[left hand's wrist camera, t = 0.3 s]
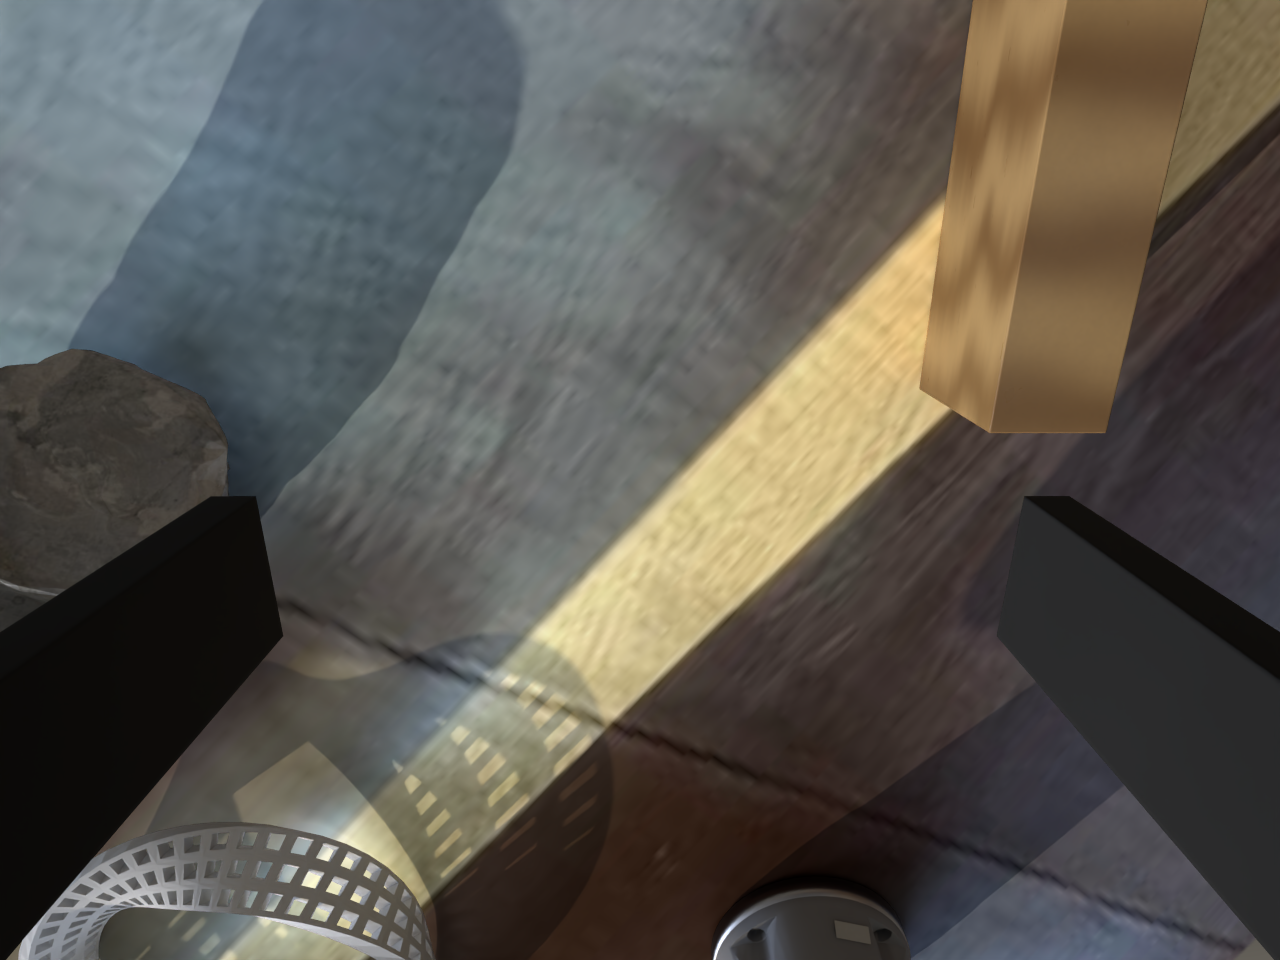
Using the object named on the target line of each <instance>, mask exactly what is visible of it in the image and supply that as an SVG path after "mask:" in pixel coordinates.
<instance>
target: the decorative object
mask: <svg viewBox="0 0 1280 960" xmlns="http://www.w3.org/2000/svg"><path fill="white" fill-rule="evenodd" d="M228 832H230V833H229V837H228V841H227V844H217V842H218V833H228ZM245 832H258V835H257V837H256V840H255V843H254V845H253V846H245V845H242V842H243V838H244V834H245ZM271 833H276V834H285V835H286V837H285V839H284V842H283V844H282V846H281V848H280V850H279V851H278V850H273V849H268V848H266V847H267V844H268V841H269V839H270V836H271ZM199 835H201V840H200V845H193V837H194V836H199ZM297 837H300V838H303V839H306V840H309V841H311V843H310V845H309V848H308V850H307V852H306V854H305V855H299V854H294V853H290V852H291V850H292V848H293V845H294V843H295V841H296V839H297ZM170 841H173V845H174V848H170V847H169V844H168V842H170ZM322 846H325V847H328V848H330V849H332V850H334V851H333V853H332V855H331V857H330V859H329V861H328V862H327V861H324V860H321V859H317V858H316V857H317V855H318V853H319V851H320V849H321V847H322ZM146 848H147V851H148V853H147V852H146V850H145V849H146ZM345 856H346V857H348V858H350V859H351V860H353V861H354V862H353V865H352V867H351V869H347V868H345V867H342V866H340V865H341V864H342V862H343V860H344V858H345ZM221 860H222V862H221V866H220V869H219V872H214V871H215V862H216V861H221ZM238 860H247V863H246V865H245V867H244V870H243V872H242V875H240V874H235V871H236V867H237V862H238ZM261 861H263V862H273V864H272V866H271V868H270V870H269V872H268V874H267V876H266V878H265V879H263V878H258V877H256V875H257V873H258V870H259V867H260V864H261ZM196 862H198V865H197V871H195V863H196ZM285 865H288V866H292V867H295V868H298V870H297V872H296V873H295V875H294V877H293V879H292V880H291V882H290V883H284V882H278V880H279V878H280V875H281V873H282V871H283V868H284V866H285ZM366 870H368V871H369V872H370V873H371V874H372V875H371V877H370V879H369V878H367V877H365V876H363V875H364V873H365V871H366ZM307 872H311V873H313V874H316V875H319V876H321V878H320V880H319V882H318V884H317V886H316V888H315V889H314V888H310V887H305V886H301V885H302V883H303V881H304V878H305V876H306V874H307ZM331 881H333V882H335V883H337V884H339V885H341V886H342V888H341V890H340V892H339V894H338V895H335V894H332V893H329V892H325V891H326V890H327V888H328V886H329V884H330V883H331ZM384 886H385V887H386V888H387V889H385V888H384ZM213 889H214V890H213ZM231 890H235V892H234V894H233V897H232V899H231V901H230V903H228V899H229V895H230V891H231ZM212 891H213V893H212ZM251 891H259V892H258V894H257V896H256V898H255V900H254V902H253V904H252V906H251V908H248V907H246V904H247V901H248V898H249V895H250V892H251ZM353 893H356V894H357V895H359V896H361V897H362V899H361V901H360V903H357V902H354V901H352V900H350V899H351V897H352V895H353ZM272 894H276V895H280V896H282V898H281V900H280V902H279V904H278V906H277V907H276V909H275V911H274V912H270V911H265V910H266V908H267V906H268V903H269V901H270V899H271V896H272ZM294 900H297V901H300V902H303V903H306V906H305V907H304V909H303V911H302V913H301V914H300V916H295V915H289V914H288V912H289V910H290V908H291V906H292V904H293V902H294ZM132 907H150V908H162V909H174V910H189V911H205V912H219V913H232V914H242V915H252V916H257V917H261V918H265V919H269V920H273V921H277V922H280V923H284V924H287V925H291V926H294V927H298V928H301V929H304V930H307V931H310V932H313V933H316V934H319V935H322V936H325V937H328V938H330V939H333V940H335V941H338V942H340V943H343V944H345V945H348V946H350V947H352V948H354V949H356V950H359V951H361V952H363V953H365V954H367V955H369V956H371V957H373V958H375V959H376V960H435V956H434V953H433V949H432V945H431V940H430V936H429V931H428V927H427V924H426V920H425V916H424V913H423V911H422V909H421V907H420V905H419V903H418V901H417V899H416V897H415V896H414V895H413V893H412V892H411V891H410V890H409V888H408V887H407V886H406V884H405V883H404V882H403V881H402V880H401V879H400V878H399V877H398V876H397V875H395V874H394V873H393V872H392V871H391V870H390V869H389V868H388V867H386V866H385V865H383V864H382V863H380V862H379V861H377V860H376V859H374V858H373V857H371V856H370V855H368V854H366V853H364V852H362V851H360V850H358V849H356V848H354V847H351V846H349V845H347V844H345V843H342V842H339V841H336V840H333V839H330V838H327V837H324V836H321V835H316V834H311V833H307V832H302V831H298V830H293V829H288V828H283V827H278V826H273V825H267V824H256V823H246V822H212V823H203V824H193V825H185V826H180V827H175V828H170V829H165V830H161V831H157V832H154V833H150V834H147V835H144V836H141V837H138V838H134V839H132V840H129V841H127V842H125V843H122V844H120V845H118V846H116V847H113V848H111V849H109V850H107V851H105V852H103V853H101V854H100V855H98V856H96V857H95V858H93V859H92V860H91V861H90V862H89V863H88V864H87V866H86V867H85V868H84V869H83V870H82V871H81V873H80V874H79V875H78V876H77V877H76V878H75V880H74V881H73V882H72V883H71V884H70V885H69V887H68V888H67V889H66V890H65V891H64V892H63V894H62V895H61V896H60V897H59V898H58V899H57V901H56V902H55V903H54V904H53V905H52V906H51V908H50V909H49V910H48V911H47V912H46V913H45V915H44V916H43V917H42V918H41V919H40V920H39V922H38V923H37V924H36V925H35V926H34V927H33V929H32V930H31V931H30V932H29V933H28V934H27V936H26V937H25V938H24V939H23V941H22V944H21V947H20V951H19V958H18V960H99V941H100V936H101V933H102V930H103V928H104V926H105V924H106V923H107V921H108V920H109V918H110V917H112V916H113V915H114V914H115V913H117V912H119V911H120V910H123V909H126V908H132ZM316 907H318V908H320V909H323V910H325V911H328V912H330V913H329V915H328V917H327V920H326V922H322V921H318V920H314V919H311V918H312V916H313V913H314V911H315V909H316ZM374 907H376V908H378V909H379V910H380V911H379V913H378V912H376V911H374V910H373V909H374ZM340 917H342V918H344V919H346V920H348V921H350V922H352V923H351V925H350V927H349V929H346V928H343V927H340V926H337V923H338V921H339V919H340ZM364 929H365V930H367V931H368V932H370V933H372V936H371V937H368V936H366V935H363V934H362V933H363V931H364ZM387 944H388V945H389V946H388V945H387Z"/></svg>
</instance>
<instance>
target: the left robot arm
mask: <svg viewBox="0 0 1280 960" xmlns="http://www.w3.org/2000/svg"><path fill="white" fill-rule="evenodd" d="M282 637H283V632H282V627H281V622H280V617H279V612H278V607H277V602H276V597H275V592H274V587H273V582H272V577H271V572H270V566H269V561H268V556H267V551H266V546H265V541H264V536H263V531H262V526H261V521H260V516H259V511H258V506H257V500H256V496H210V497H209V498H207V499H206V500H204V501H203V502H201V503H200V504H198V505H196V506H195V507H193V508H192V509H190V510H189V511H187V512H186V513H184V514H183V515H181V516H179V517H178V518H176V519H175V520H173V521H172V522H170V523H169V524H167V525H165V526H164V527H162V528H161V529H159V530H158V531H156V532H155V533H153V534H152V535H150V536H148V537H147V538H145V539H144V540H142V541H141V542H139V543H138V544H136V545H134V546H133V547H131V548H130V549H128V550H127V551H125V552H124V553H122V554H121V555H119V556H117V557H116V558H114V559H113V560H111V561H110V562H108V563H107V564H105V565H103V566H102V567H100V568H99V569H97V570H96V571H94V572H93V573H91V574H90V575H88V576H86V577H85V578H83V579H82V580H80V581H79V582H77V583H76V584H74V585H72V586H71V587H69V588H68V589H66V590H65V591H63V592H62V593H60V594H59V595H57V596H55V597H54V598H52V599H51V600H49V601H48V602H46V603H45V604H43V605H41V606H40V607H38V608H37V609H35V610H34V611H32V612H31V613H29V614H28V615H26V616H24V617H23V618H21V619H20V620H18V621H17V622H15V623H14V624H12V625H10V626H9V627H7V628H6V629H4V630H3V631H1V632H0V960H6V959H7V958H8V957H9V955H10V954H11V953H12V952H13V951H14V950H15V948H16V947H17V946H18V945H19V944H20V943H21V941H22V940H23V939H24V938H25V937H26V936H27V934H28V933H29V932H30V931H31V930H32V929H33V927H34V926H35V925H36V924H37V923H38V922H39V920H40V919H41V918H42V917H43V916H44V915H45V913H46V912H47V911H48V910H49V909H50V908H51V906H52V905H53V904H54V903H55V902H56V901H57V899H58V898H59V897H60V896H61V895H62V894H63V892H64V891H65V890H66V889H67V888H68V887H69V885H70V884H71V883H72V882H73V881H74V880H75V878H76V877H77V876H78V875H79V874H80V873H81V871H82V870H83V869H84V868H85V867H86V866H87V864H88V863H89V862H90V861H91V860H92V859H93V857H94V856H95V855H96V854H97V853H98V852H99V850H100V849H101V848H102V847H103V846H104V845H105V843H106V842H107V841H108V840H109V839H110V838H111V836H112V835H113V834H114V833H115V832H116V831H117V829H118V828H119V827H120V826H121V825H122V824H123V822H124V821H125V820H126V819H127V818H128V817H129V815H130V814H131V813H132V812H133V811H134V810H135V808H136V807H137V806H138V805H139V804H140V803H141V801H142V800H143V799H144V798H145V797H146V796H147V794H148V793H149V792H150V791H151V790H152V789H153V787H154V786H155V785H156V784H157V783H158V782H159V780H160V779H161V778H162V777H163V776H164V775H165V773H166V772H167V771H168V770H169V769H170V768H171V766H172V765H173V764H174V763H175V762H176V761H177V759H178V758H179V757H180V756H181V755H182V754H183V752H184V751H185V750H186V749H187V748H188V747H189V745H190V744H191V743H192V742H193V741H194V740H195V738H196V737H197V736H198V735H199V734H200V732H201V731H202V730H203V729H204V728H205V727H206V725H207V724H208V723H209V722H210V721H211V720H212V718H213V717H214V716H215V715H216V714H217V713H218V711H219V710H220V709H221V708H222V707H223V706H224V704H225V703H226V702H227V701H228V700H229V699H230V697H231V696H232V695H233V694H234V693H235V692H236V690H237V689H238V688H239V687H240V686H241V685H242V683H243V682H244V681H245V680H246V679H247V678H248V676H249V675H250V674H251V673H252V672H253V671H254V669H255V668H256V667H257V666H258V665H259V664H260V662H261V661H262V660H263V659H264V658H265V657H266V655H267V654H268V653H269V652H270V651H271V650H272V648H273V647H274V646H275V645H276V644H277V643H278V641H279V640H280V639H281V638H282ZM997 637H998V638H999V639H1000V640H1001V641H1002V643H1003V644H1004V645H1005V646H1006V647H1007V648H1008V650H1009V651H1010V652H1011V653H1012V654H1013V655H1014V657H1015V658H1016V659H1017V660H1018V661H1019V662H1020V664H1021V665H1022V666H1023V667H1024V668H1025V669H1026V671H1027V672H1028V673H1029V674H1030V675H1031V676H1032V678H1033V679H1034V680H1035V681H1036V682H1037V683H1038V685H1039V686H1040V687H1041V688H1042V689H1043V690H1044V692H1045V693H1046V694H1047V695H1048V696H1049V697H1050V699H1051V700H1052V701H1053V702H1054V703H1055V704H1056V706H1057V707H1058V708H1059V709H1060V710H1061V711H1062V713H1063V714H1064V715H1065V716H1066V717H1067V718H1068V720H1069V721H1070V722H1071V723H1072V724H1073V725H1074V727H1075V728H1076V729H1077V730H1078V731H1079V732H1080V734H1081V735H1082V736H1083V737H1084V738H1085V740H1086V741H1087V742H1088V743H1089V744H1090V745H1091V747H1092V748H1093V749H1094V750H1095V751H1096V752H1097V754H1098V755H1099V756H1100V757H1101V758H1102V759H1103V761H1104V762H1105V763H1106V764H1107V765H1108V766H1109V768H1110V769H1111V770H1112V771H1113V772H1114V773H1115V775H1116V776H1117V777H1118V778H1119V779H1120V780H1121V782H1122V783H1123V784H1124V785H1125V786H1126V787H1127V789H1128V790H1129V791H1130V792H1131V793H1132V794H1133V796H1134V797H1135V798H1136V799H1137V800H1138V801H1139V803H1140V804H1141V805H1142V806H1143V807H1144V808H1145V810H1146V811H1147V812H1148V813H1149V814H1150V815H1151V817H1152V818H1153V819H1154V820H1155V821H1156V822H1157V824H1158V825H1159V826H1160V827H1161V828H1162V829H1163V831H1164V832H1165V833H1166V834H1167V835H1168V836H1169V838H1170V839H1171V840H1172V841H1173V842H1174V843H1175V845H1176V846H1177V847H1178V848H1179V849H1180V850H1181V852H1182V853H1183V854H1184V855H1185V856H1186V857H1187V859H1188V860H1189V861H1190V862H1191V863H1192V864H1193V866H1194V867H1195V868H1196V869H1197V870H1198V871H1199V873H1200V874H1201V875H1202V876H1203V877H1204V878H1205V880H1206V881H1207V882H1208V883H1209V884H1210V885H1211V887H1212V888H1213V889H1214V890H1215V891H1216V892H1217V894H1218V895H1219V896H1220V897H1221V898H1222V899H1223V901H1224V902H1225V903H1226V904H1227V905H1228V906H1229V908H1230V909H1231V910H1232V911H1233V912H1234V913H1235V915H1236V916H1237V917H1238V918H1239V919H1240V920H1241V922H1242V923H1243V924H1244V925H1245V926H1246V927H1247V929H1248V930H1249V931H1250V932H1251V933H1252V934H1253V936H1254V937H1255V938H1256V939H1257V940H1258V941H1259V943H1260V944H1261V945H1262V946H1263V947H1264V948H1265V950H1266V951H1267V952H1268V953H1269V954H1270V955H1271V957H1272V958H1273V959H1274V960H1280V632H1279V631H1277V630H1276V629H1274V628H1273V627H1271V626H1270V625H1268V624H1266V623H1265V622H1263V621H1262V620H1260V619H1259V618H1257V617H1256V616H1254V615H1252V614H1251V613H1249V612H1248V611H1246V610H1245V609H1243V608H1242V607H1240V606H1239V605H1237V604H1235V603H1234V602H1232V601H1231V600H1229V599H1228V598H1226V597H1225V596H1223V595H1221V594H1220V593H1218V592H1217V591H1215V590H1214V589H1212V588H1211V587H1209V586H1208V585H1206V584H1204V583H1203V582H1201V581H1200V580H1198V579H1197V578H1195V577H1194V576H1192V575H1190V574H1189V573H1187V572H1186V571H1184V570H1183V569H1181V568H1180V567H1178V566H1177V565H1175V564H1173V563H1172V562H1170V561H1169V560H1167V559H1166V558H1164V557H1163V556H1161V555H1159V554H1158V553H1156V552H1155V551H1153V550H1152V549H1150V548H1149V547H1147V546H1146V545H1144V544H1142V543H1141V542H1139V541H1138V540H1136V539H1135V538H1133V537H1132V536H1130V535H1128V534H1127V533H1125V532H1124V531H1122V530H1121V529H1119V528H1118V527H1116V526H1115V525H1113V524H1111V523H1110V522H1108V521H1107V520H1105V519H1104V518H1102V517H1101V516H1099V515H1097V514H1096V513H1094V512H1093V511H1091V510H1090V509H1088V508H1087V507H1085V506H1084V505H1082V504H1080V503H1079V502H1077V501H1076V500H1074V499H1073V498H1071V497H1070V496H1024V500H1023V506H1022V511H1021V516H1020V521H1019V526H1018V531H1017V536H1016V541H1015V546H1014V551H1013V556H1012V561H1011V566H1010V571H1009V577H1008V582H1007V587H1006V592H1005V597H1004V602H1003V607H1002V612H1001V617H1000V622H999V627H998V632H997ZM711 955H712V960H911V958H910V949H909V945H908V942H907V939H906V936H905V934H904V931H903V928H902V926H901V923H900V920H899V918H898V916H897V914H896V913H895V911H894V910H893V908H892V907H891V906H890V905H889V904H888V903H887V902H886V901H885V900H884V899H883V898H882V897H880V896H879V895H878V894H876V893H875V892H873V891H871V890H870V889H868V888H866V887H864V886H862V885H859V884H856V883H854V882H850V881H847V880H843V879H837V878H831V877H799V878H792V879H787V880H783V881H779V882H775V883H772V884H769V885H767V886H764V887H762V888H760V889H757V890H756V891H754V892H752V893H750V894H748V895H747V896H745V897H744V898H742V899H741V900H740V901H738V902H737V903H736V904H735V905H734V906H732V907H731V908H730V909H729V910H728V912H727V913H726V914H725V915H724V916H723V918H722V919H721V921H720V922H719V924H718V926H717V928H716V930H715V933H714V936H713V940H712V946H711Z"/></svg>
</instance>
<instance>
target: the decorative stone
mask: <svg viewBox="0 0 1280 960" xmlns="http://www.w3.org/2000/svg"><path fill="white" fill-rule="evenodd" d="M227 451H228V443H227V439H226V436H225V435H224V433H223V431H222V429H221V427H220V425H219V423H218V421H217V420H216V418H215V416H214V415H213V413H212V411H211V409H210V408H209V406H208V404H207V402H206V400H205V399H204V398H203V397H201V396H200V395H198V394H197V393H195V392H193V391H191V390H188V389H186V388H184V387H182V386H179V385H177V384H175V383H172V382H170V381H167V380H165V379H163V378H161V377H158V376H156V375H154V374H151V373H149V372H147V371H144V370H142V369H141V368H139V367H138V366H136V365H135V364H132V363H128V362H125V361H122V360H119V359H116V358H113V357H110V356H107V355H104V354H101V353H98V352H95V351H92V350H79V349H70V350H67V351H64V352H61V353H58V354H55V355H53V356H50V357H48V358H46V359H44V360H42V361H41V362H39V363H38V364H23V365H11V366H5V367H2V368H0V632H1V631H3V630H4V629H6V628H7V627H9V626H10V625H12V624H14V623H15V622H17V621H18V620H20V619H21V618H23V617H24V616H26V615H28V614H29V613H31V612H32V611H34V610H35V609H37V608H38V607H40V606H41V605H43V604H45V603H46V602H48V601H49V600H51V599H52V598H54V597H55V596H57V595H59V594H60V593H62V592H63V591H65V590H66V589H68V588H69V587H71V586H72V585H74V584H76V583H77V582H79V581H80V580H82V579H83V578H85V577H86V576H88V575H90V574H91V573H93V572H94V571H96V570H97V569H99V568H100V567H102V566H103V565H105V564H107V563H108V562H110V561H111V560H113V559H114V558H116V557H117V556H119V555H121V554H122V553H124V552H125V551H127V550H128V549H130V548H131V547H133V546H134V545H136V544H138V543H139V542H141V541H142V540H144V539H145V538H147V537H148V536H150V535H152V534H153V533H155V532H156V531H158V530H159V529H161V528H162V527H164V526H165V525H167V524H169V523H170V522H172V521H173V520H175V519H176V518H178V517H179V516H181V515H183V514H184V513H186V512H187V511H189V510H190V509H192V508H193V507H195V506H196V505H198V504H200V503H201V502H203V501H204V500H206V499H207V498H209V497H210V496H229V495H228V475H227V470H228V469H230V468H229V465H228V462H227Z"/></svg>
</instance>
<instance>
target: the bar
mask: <svg viewBox="0 0 1280 960" xmlns="http://www.w3.org/2000/svg"><path fill="white" fill-rule="evenodd" d="M1207 2H1208V0H973V6H972V13H971V20H970V27H969V35H968V42H967V49H966V56H965V64H964V71H963V78H962V85H961V93H960V100H959V107H958V114H957V121H956V129H955V136H954V143H953V150H952V158H951V165H950V172H949V179H948V187H947V194H946V201H945V208H944V215H943V223H942V230H941V237H940V244H939V252H938V259H937V266H936V273H935V281H934V288H933V295H932V302H931V309H930V317H929V324H928V331H927V338H926V346H925V353H924V360H923V367H922V375H921V382H920V390H922V391H924V392H925V393H927V394H928V395H930V396H932V397H933V398H935V399H936V400H938V401H940V402H941V403H943V404H944V405H946V406H948V407H949V408H951V409H952V410H954V411H956V412H957V413H959V414H960V415H962V416H964V417H965V418H967V419H968V420H970V421H972V422H973V423H975V424H976V425H978V426H980V427H981V428H983V429H984V430H986V431H988V432H989V433H1106V431H1107V426H1108V422H1109V418H1110V414H1111V409H1112V405H1113V401H1114V397H1115V392H1116V388H1117V384H1118V380H1119V375H1120V371H1121V367H1122V363H1123V358H1124V354H1125V350H1126V346H1127V341H1128V337H1129V333H1130V329H1131V325H1132V320H1133V316H1134V312H1135V308H1136V303H1137V299H1138V295H1139V291H1140V286H1141V282H1142V278H1143V274H1144V269H1145V265H1146V261H1147V257H1148V252H1149V248H1150V244H1151V240H1152V235H1153V231H1154V227H1155V223H1156V218H1157V214H1158V210H1159V206H1160V201H1161V197H1162V193H1163V189H1164V184H1165V180H1166V176H1167V172H1168V167H1169V163H1170V159H1171V155H1172V150H1173V146H1174V142H1175V138H1176V133H1177V129H1178V125H1179V121H1180V116H1181V112H1182V108H1183V104H1184V99H1185V95H1186V91H1187V87H1188V83H1189V78H1190V74H1191V70H1192V66H1193V61H1194V57H1195V53H1196V49H1197V44H1198V40H1199V36H1200V32H1201V27H1202V23H1203V19H1204V15H1205V10H1206V6H1207Z"/></svg>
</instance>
